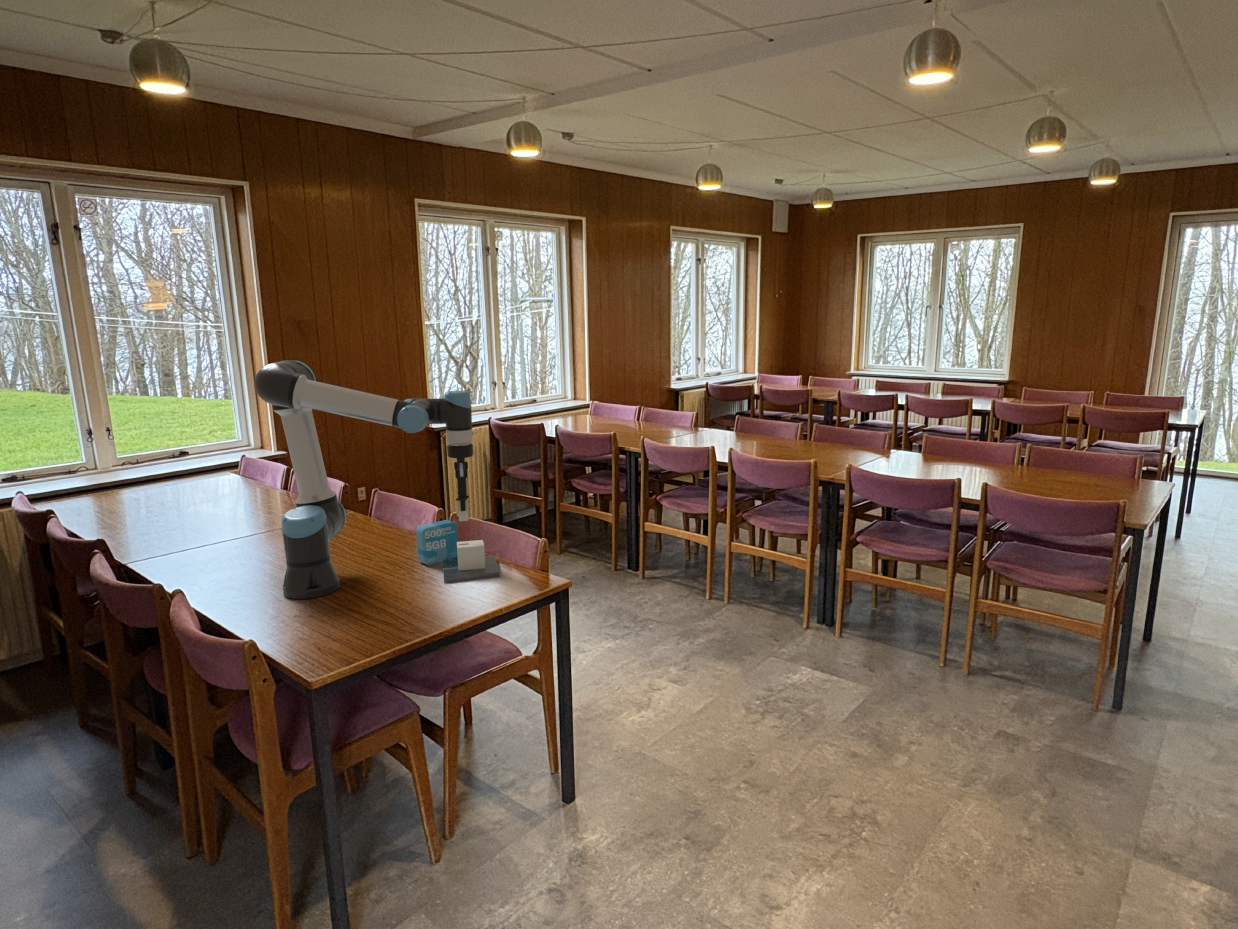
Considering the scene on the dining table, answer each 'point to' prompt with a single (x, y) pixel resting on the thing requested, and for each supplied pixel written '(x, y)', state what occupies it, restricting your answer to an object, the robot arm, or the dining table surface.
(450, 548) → the data package
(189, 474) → the dining table surface
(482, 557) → the white box
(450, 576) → the plate
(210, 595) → the dining table surface
